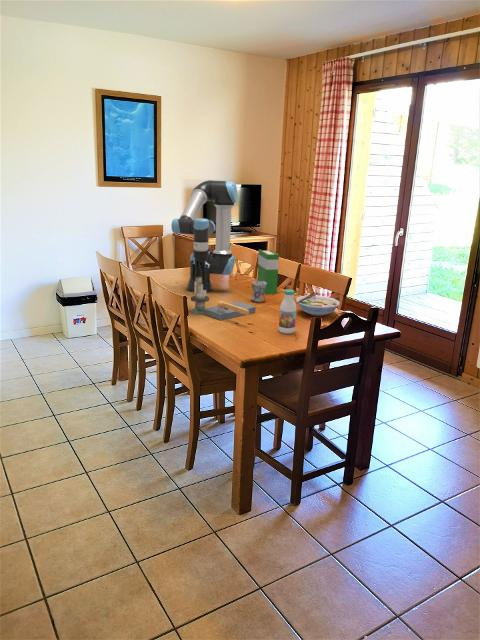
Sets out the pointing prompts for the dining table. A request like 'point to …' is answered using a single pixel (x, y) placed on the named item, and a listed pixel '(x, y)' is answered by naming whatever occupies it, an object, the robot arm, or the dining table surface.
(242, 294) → the dining table surface
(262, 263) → the green cereal box
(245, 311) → the clip
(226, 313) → the socket board
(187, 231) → the robot arm
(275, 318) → the dining table surface
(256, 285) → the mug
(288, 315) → the milk bottle
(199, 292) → the plug
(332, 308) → the ramen bowl
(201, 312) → the pad
